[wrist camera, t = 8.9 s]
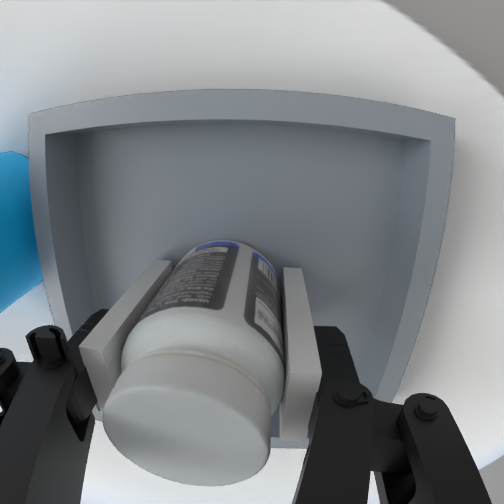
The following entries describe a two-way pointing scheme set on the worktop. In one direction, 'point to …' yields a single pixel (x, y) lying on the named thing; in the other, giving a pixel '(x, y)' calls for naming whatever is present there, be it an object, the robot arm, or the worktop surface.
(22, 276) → the mug
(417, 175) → the tray
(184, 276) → the pill bottle
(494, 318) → the worktop surface
